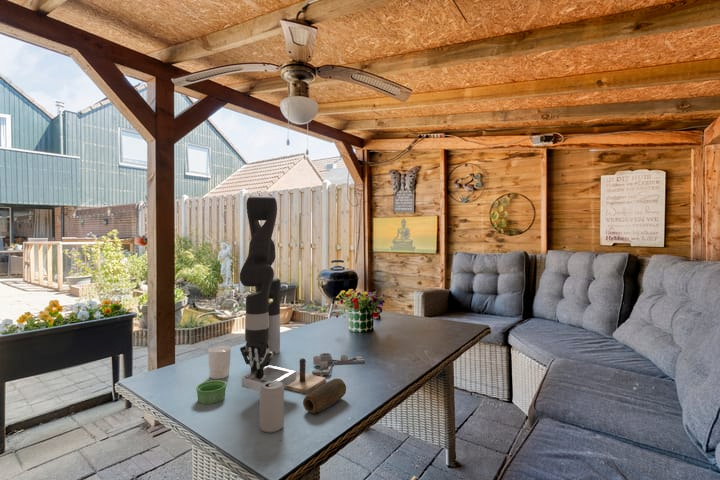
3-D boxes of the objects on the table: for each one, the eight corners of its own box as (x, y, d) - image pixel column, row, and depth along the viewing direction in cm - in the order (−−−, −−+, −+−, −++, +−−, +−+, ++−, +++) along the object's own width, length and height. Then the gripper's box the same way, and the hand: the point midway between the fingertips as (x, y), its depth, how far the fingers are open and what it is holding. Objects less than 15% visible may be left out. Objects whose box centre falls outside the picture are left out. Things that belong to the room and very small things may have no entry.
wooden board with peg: (278, 386, 127) (278, 360, 127) (298, 375, 138) (299, 351, 138) (306, 393, 122) (306, 366, 121) (326, 381, 132) (326, 356, 132)
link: (241, 386, 115) (241, 377, 115) (267, 373, 126) (267, 364, 126) (271, 395, 110) (271, 385, 109) (296, 380, 120) (296, 371, 120)
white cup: (235, 373, 139) (235, 347, 139) (221, 380, 132) (221, 353, 132) (218, 370, 142) (218, 344, 142) (203, 378, 135) (203, 350, 134)
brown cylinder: (330, 394, 122) (330, 374, 122) (347, 399, 118) (347, 378, 118) (300, 412, 109) (300, 390, 109) (319, 419, 105) (319, 396, 105)
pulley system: (294, 372, 144) (321, 380, 134) (294, 360, 144) (320, 366, 134) (343, 357, 164) (369, 363, 154) (343, 346, 164) (368, 351, 154)
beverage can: (262, 422, 103) (262, 379, 103) (285, 421, 104) (285, 379, 103) (257, 434, 97) (257, 389, 97) (282, 433, 97) (282, 388, 97)
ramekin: (232, 394, 121) (232, 381, 121) (215, 406, 112) (215, 392, 112) (208, 391, 123) (208, 378, 123) (189, 403, 114) (189, 389, 114)
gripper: (233, 325, 119) (233, 378, 120) (265, 331, 113) (265, 387, 114) (249, 320, 126) (249, 370, 126) (281, 325, 120) (281, 378, 120)
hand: (257, 378), depth 120 cm, fingers closed on link, 1 cm apart
